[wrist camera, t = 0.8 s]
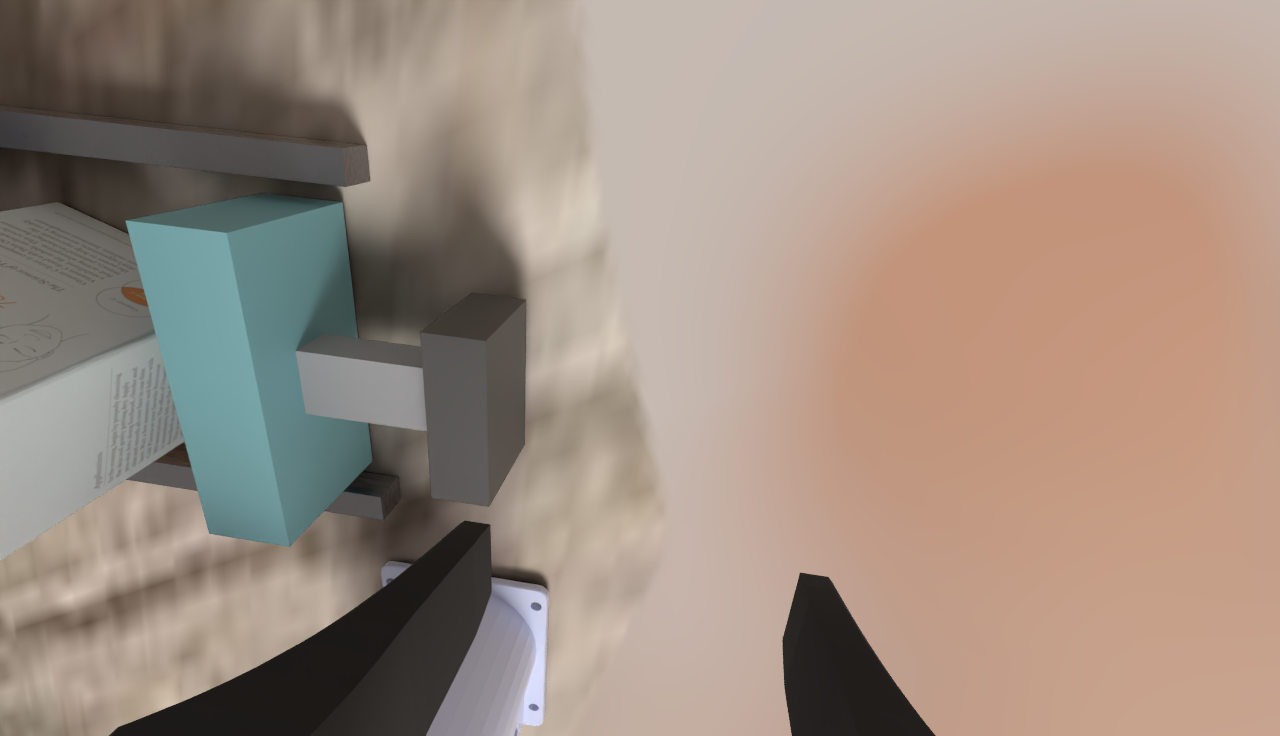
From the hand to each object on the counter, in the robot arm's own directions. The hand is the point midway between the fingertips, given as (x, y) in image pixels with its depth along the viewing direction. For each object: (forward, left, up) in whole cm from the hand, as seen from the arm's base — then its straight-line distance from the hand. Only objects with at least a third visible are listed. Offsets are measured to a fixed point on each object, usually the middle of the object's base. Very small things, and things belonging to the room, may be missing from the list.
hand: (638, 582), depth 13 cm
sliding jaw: (0, +10, -10) cm, 15 cm away
